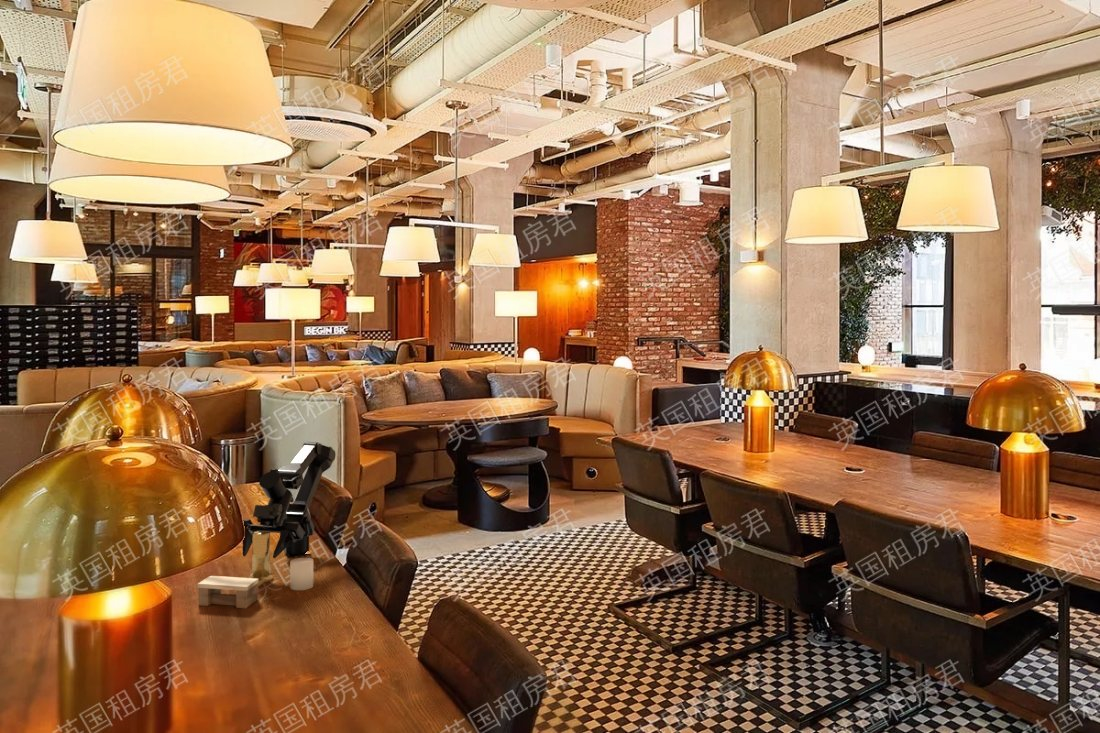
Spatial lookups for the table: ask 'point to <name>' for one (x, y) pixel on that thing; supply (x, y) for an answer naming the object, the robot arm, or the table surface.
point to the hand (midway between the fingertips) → (258, 556)
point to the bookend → (261, 557)
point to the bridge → (214, 584)
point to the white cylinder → (301, 573)
